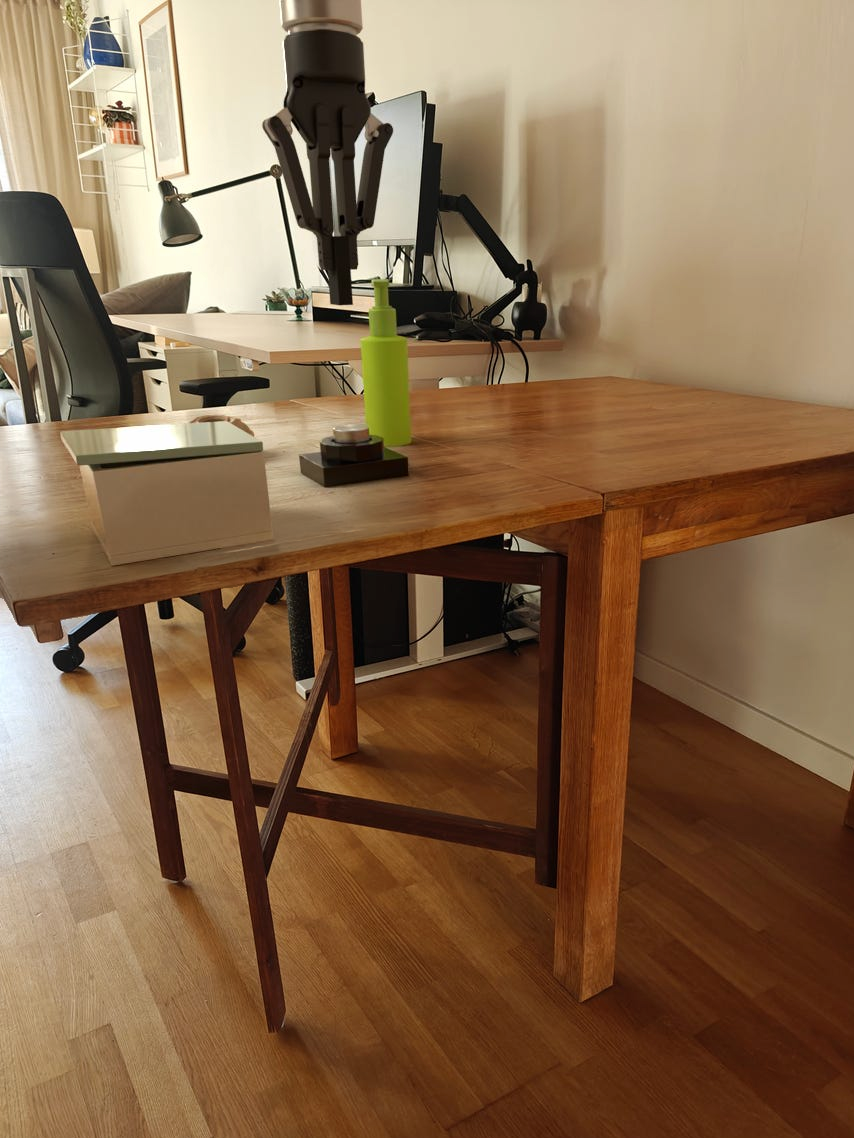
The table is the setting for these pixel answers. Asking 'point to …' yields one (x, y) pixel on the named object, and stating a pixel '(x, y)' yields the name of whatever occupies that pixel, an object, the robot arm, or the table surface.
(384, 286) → the lime green bottle
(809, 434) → the table surface
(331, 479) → the plate
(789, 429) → the table surface
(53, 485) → the table surface
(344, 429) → the silver push button
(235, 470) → the wooden box
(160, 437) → the box lid
